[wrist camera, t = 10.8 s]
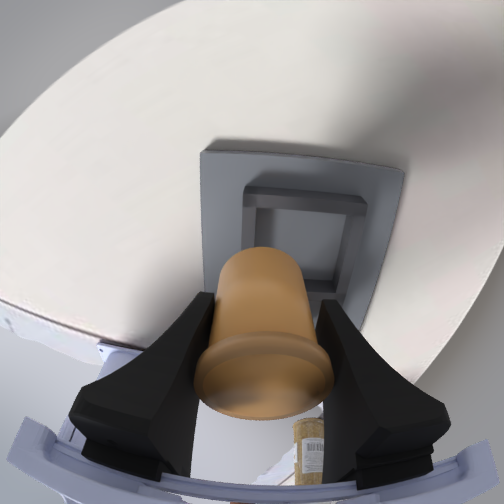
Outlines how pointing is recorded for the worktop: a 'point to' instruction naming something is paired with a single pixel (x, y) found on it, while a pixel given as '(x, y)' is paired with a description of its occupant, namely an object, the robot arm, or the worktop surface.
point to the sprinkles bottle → (309, 452)
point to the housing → (301, 219)
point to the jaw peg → (262, 342)
